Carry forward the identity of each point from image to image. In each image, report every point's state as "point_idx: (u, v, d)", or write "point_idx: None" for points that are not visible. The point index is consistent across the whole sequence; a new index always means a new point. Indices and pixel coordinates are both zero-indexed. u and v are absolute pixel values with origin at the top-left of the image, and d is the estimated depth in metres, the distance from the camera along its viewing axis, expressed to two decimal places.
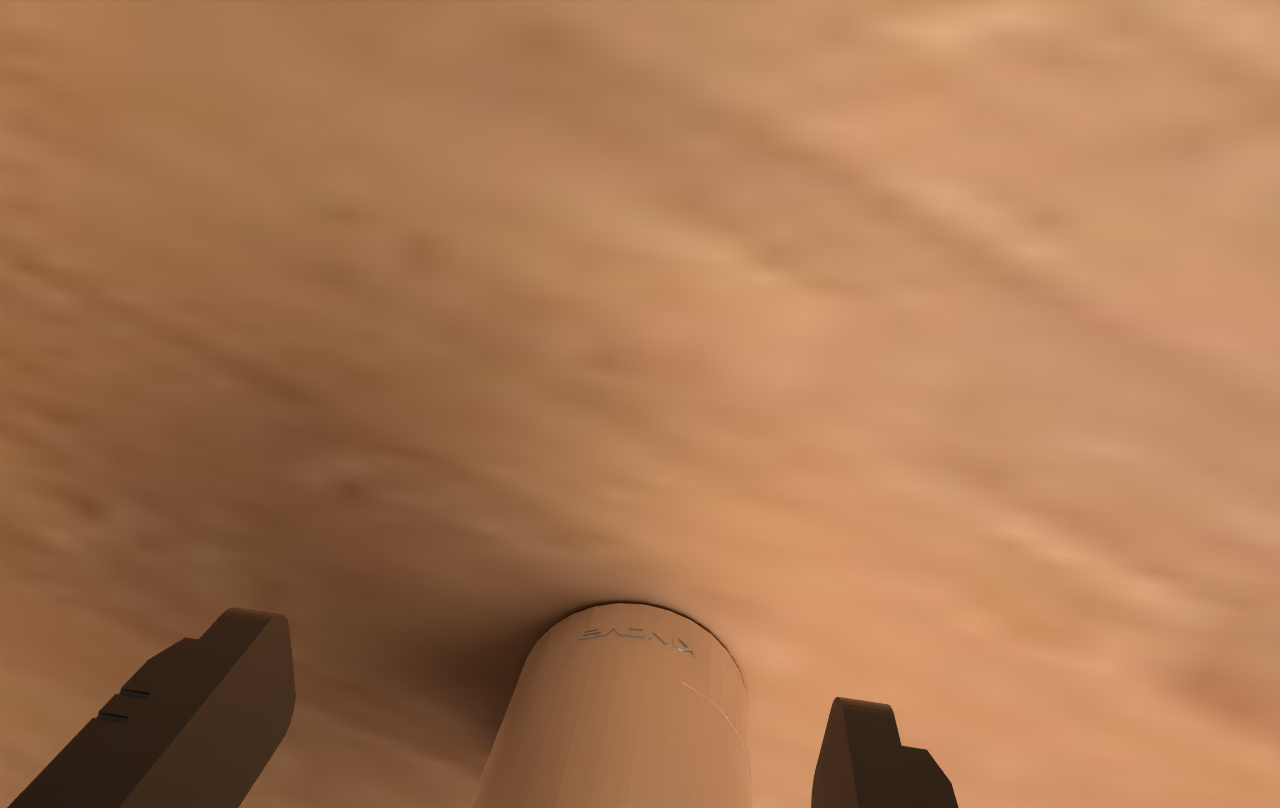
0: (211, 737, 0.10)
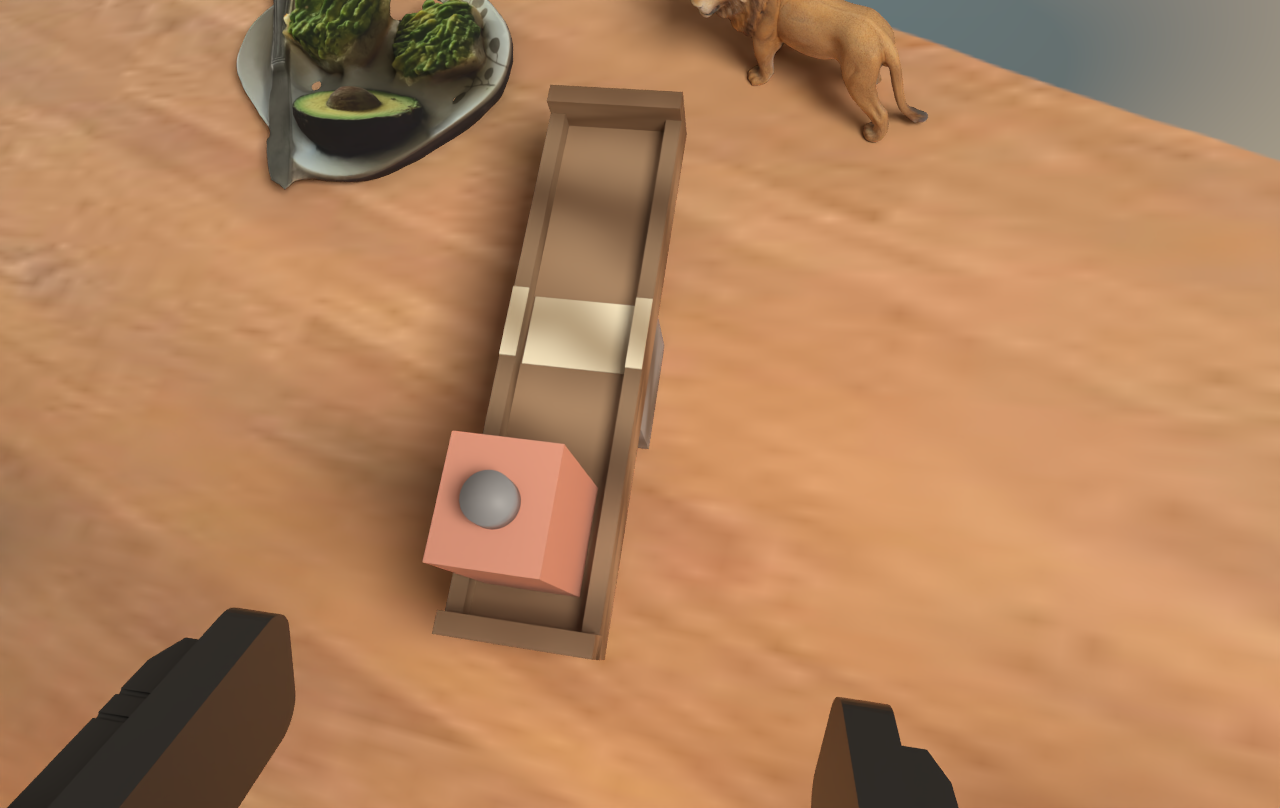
0: (211, 737, 0.10)
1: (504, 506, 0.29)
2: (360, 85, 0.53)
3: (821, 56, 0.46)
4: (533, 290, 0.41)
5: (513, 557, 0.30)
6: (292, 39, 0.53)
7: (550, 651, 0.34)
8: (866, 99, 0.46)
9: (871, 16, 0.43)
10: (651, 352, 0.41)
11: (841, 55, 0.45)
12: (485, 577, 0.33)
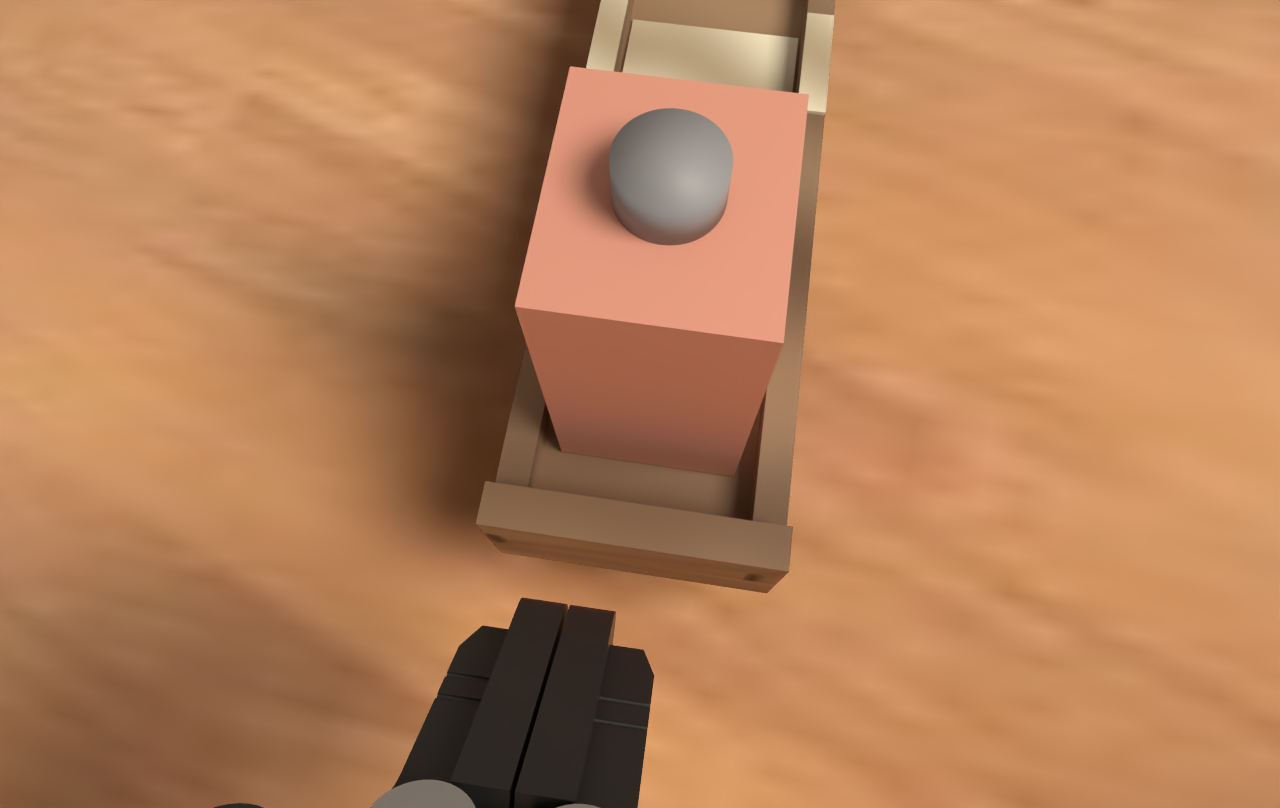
0: None
1: (713, 177, 0.13)
2: None
3: None
4: (631, 7, 0.26)
5: (720, 298, 0.13)
6: None
7: (707, 557, 0.18)
8: None
9: None
10: None
11: None
12: (604, 396, 0.17)
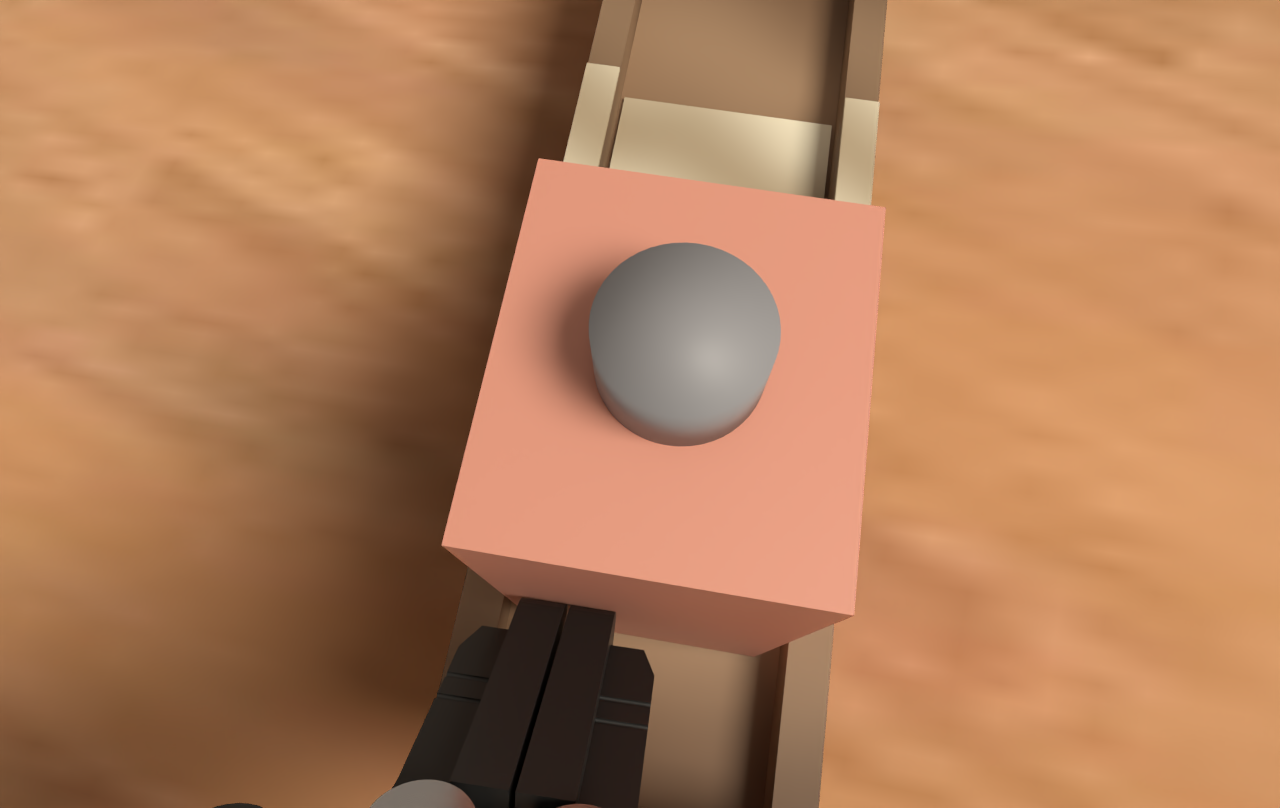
0: None
1: (749, 358, 0.08)
2: None
3: None
4: (622, 83, 0.21)
5: (755, 538, 0.09)
6: None
7: None
8: None
9: None
10: None
11: None
12: (583, 604, 0.12)
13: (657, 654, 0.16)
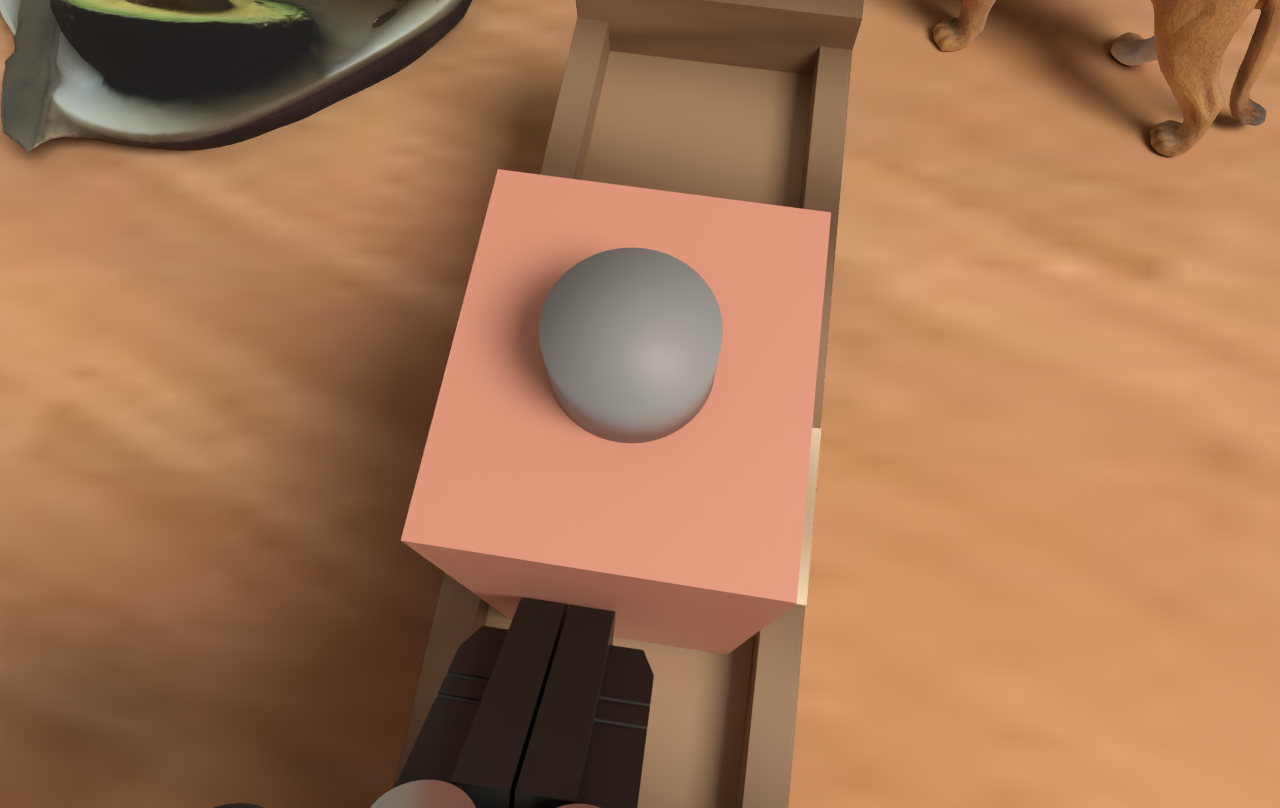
0: None
1: (692, 357, 0.09)
2: None
3: None
4: None
5: (702, 530, 0.09)
6: None
7: None
8: (1197, 73, 0.25)
9: None
10: None
11: None
12: (550, 601, 0.12)
13: None
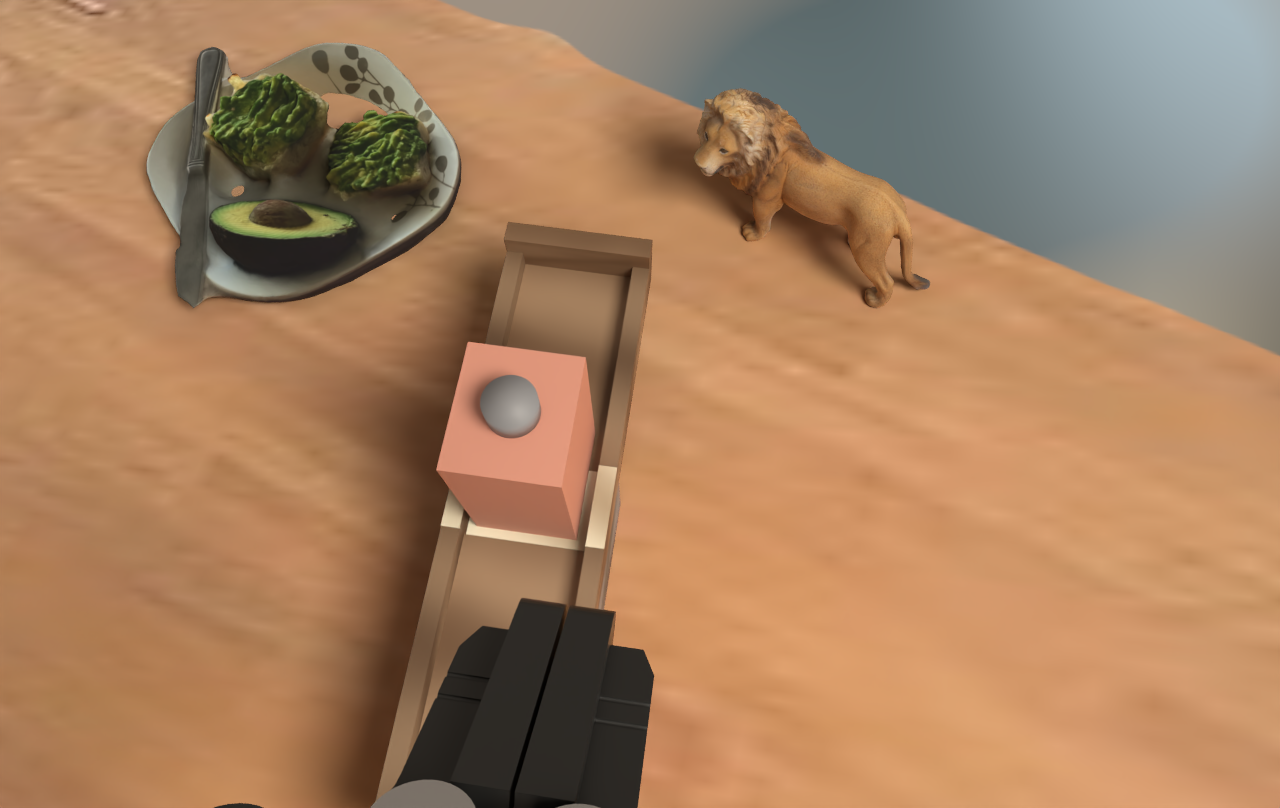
0: None
1: (528, 410, 0.28)
2: (288, 196, 0.48)
3: (827, 221, 0.44)
4: None
5: (533, 465, 0.29)
6: (214, 141, 0.48)
7: None
8: (874, 268, 0.44)
9: (884, 189, 0.42)
10: (611, 522, 0.37)
11: (851, 224, 0.43)
12: (490, 503, 0.32)
13: None
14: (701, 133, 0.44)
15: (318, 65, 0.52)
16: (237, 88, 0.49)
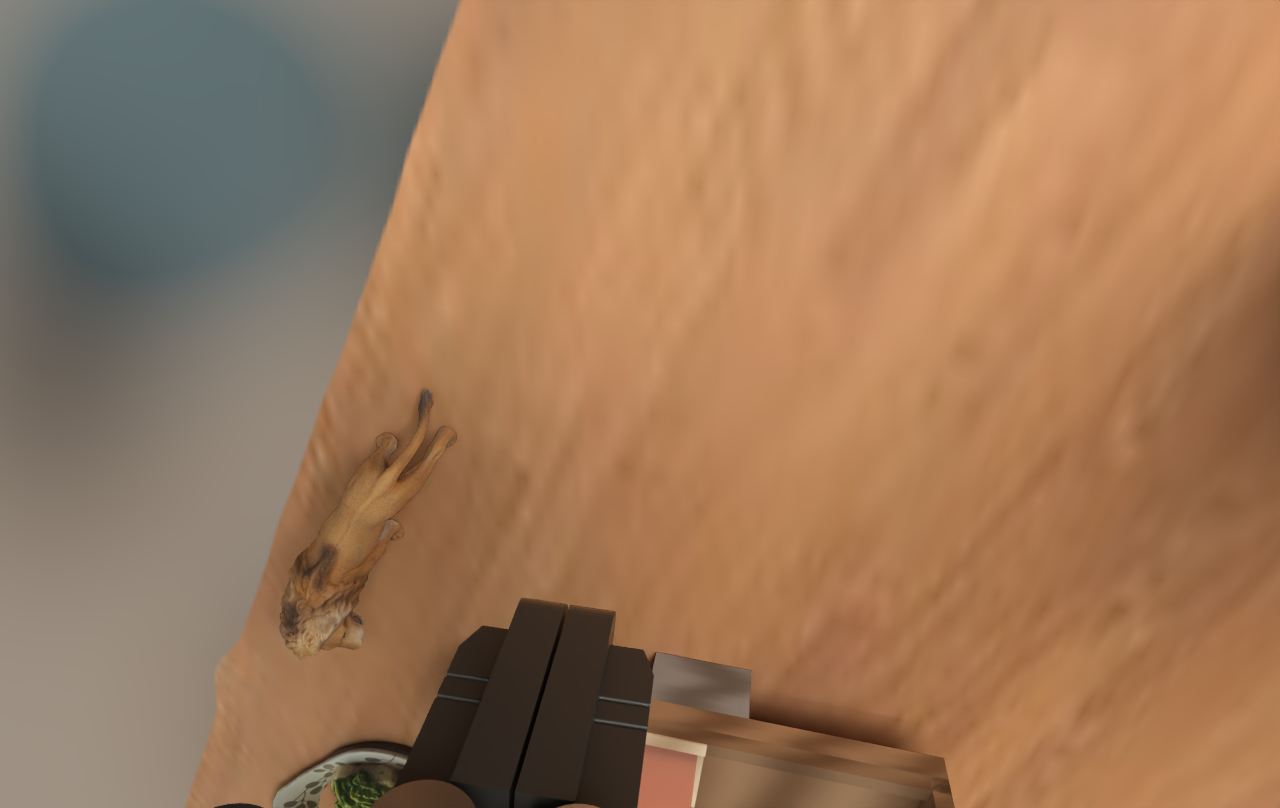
0: None
1: None
2: None
3: None
4: None
5: None
6: None
7: None
8: (426, 472, 0.45)
9: (354, 505, 0.43)
10: (681, 709, 0.47)
11: None
12: None
13: (866, 805, 0.47)
14: None
15: None
16: None
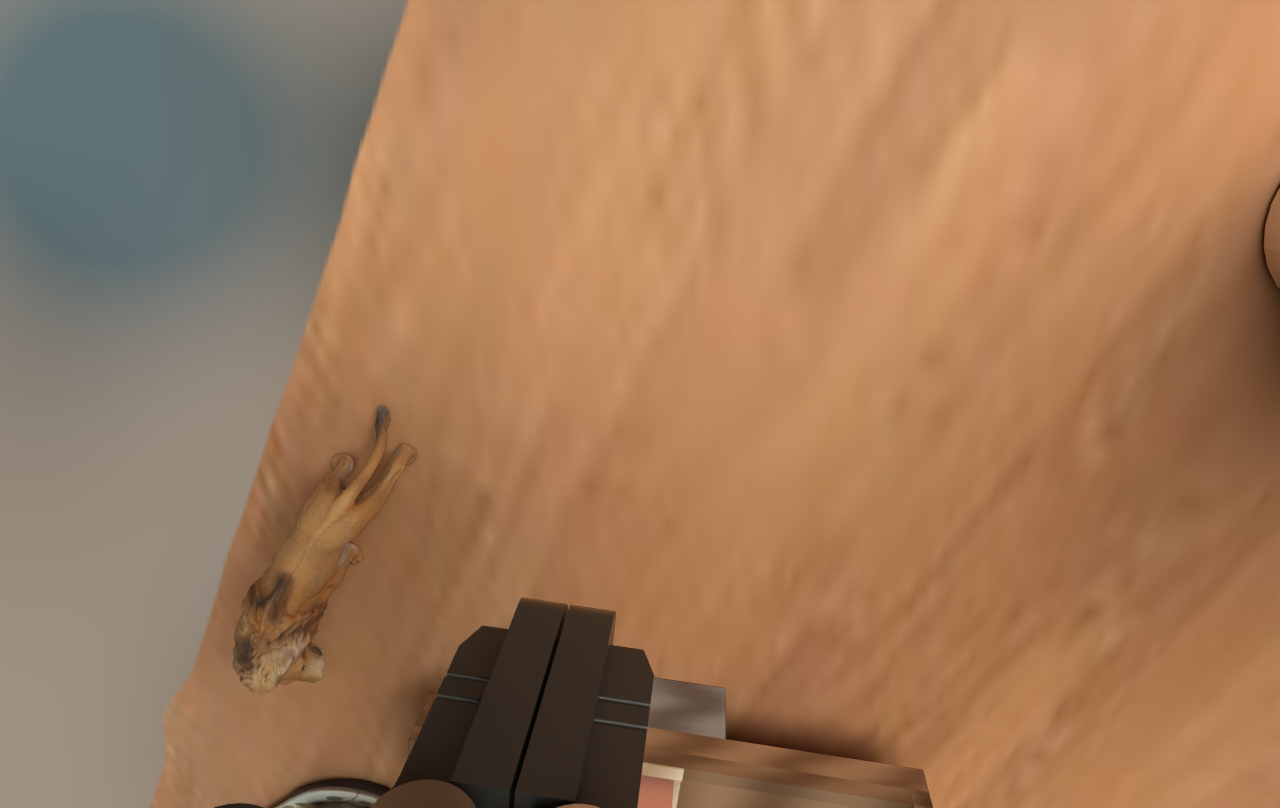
0: None
1: None
2: None
3: None
4: None
5: None
6: None
7: None
8: (386, 493, 0.43)
9: (310, 531, 0.40)
10: (656, 733, 0.46)
11: None
12: None
13: None
14: None
15: None
16: None
